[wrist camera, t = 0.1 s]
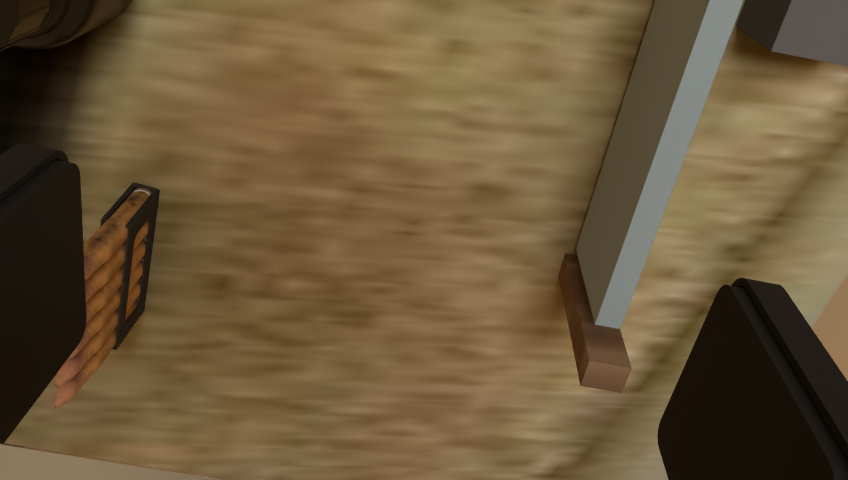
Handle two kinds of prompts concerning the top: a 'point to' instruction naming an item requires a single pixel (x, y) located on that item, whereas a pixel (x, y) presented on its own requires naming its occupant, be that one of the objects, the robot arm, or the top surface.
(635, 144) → the door
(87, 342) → the ammunition clip
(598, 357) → the door frame
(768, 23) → the doorstop block
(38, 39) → the ink bottle
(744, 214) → the top surface
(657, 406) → the top surface
